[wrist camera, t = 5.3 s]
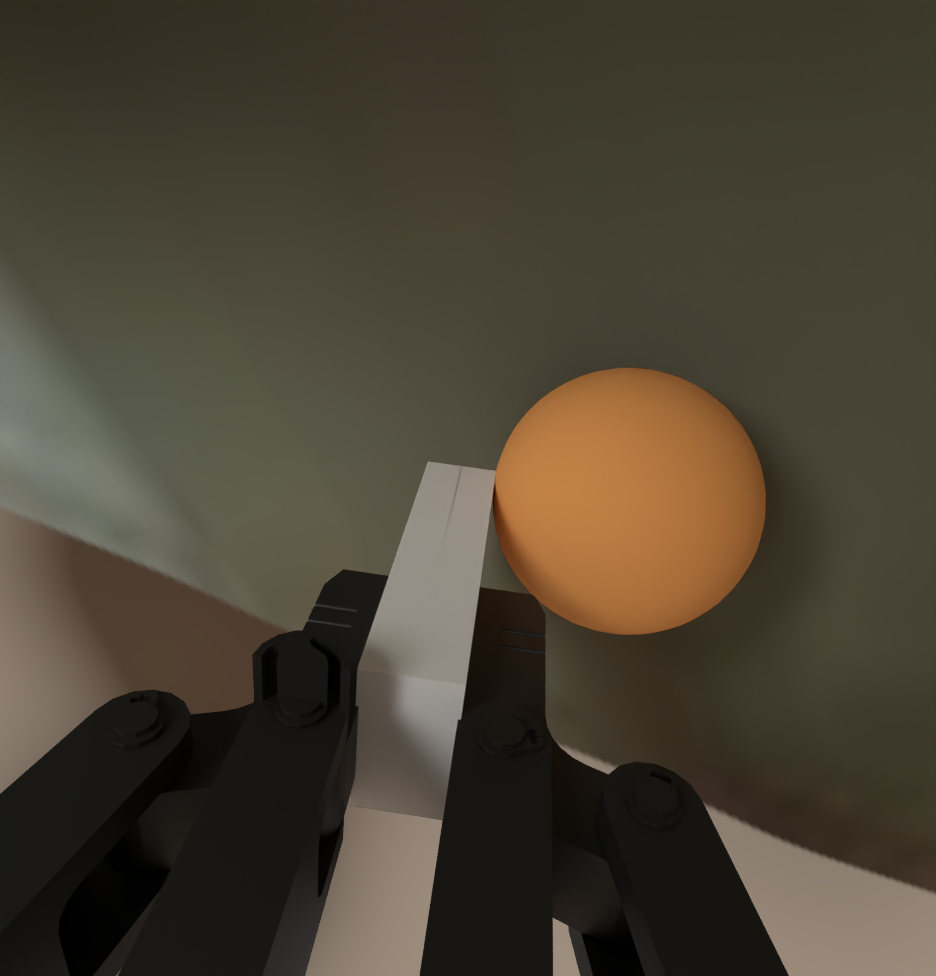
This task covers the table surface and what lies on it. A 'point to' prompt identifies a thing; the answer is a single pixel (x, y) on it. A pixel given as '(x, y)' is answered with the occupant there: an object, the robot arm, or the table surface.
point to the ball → (629, 501)
